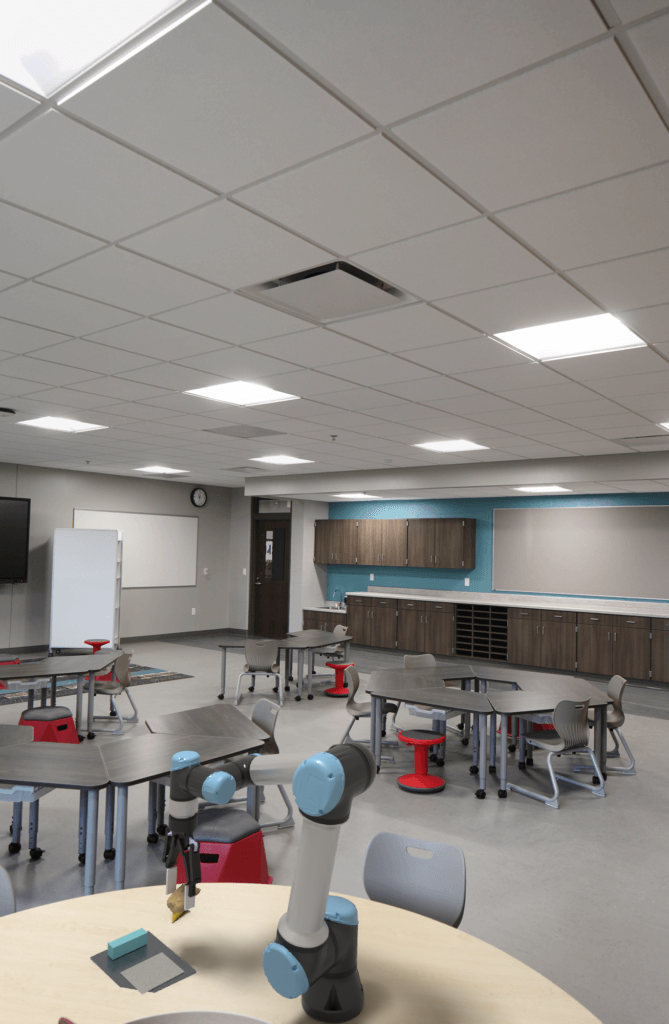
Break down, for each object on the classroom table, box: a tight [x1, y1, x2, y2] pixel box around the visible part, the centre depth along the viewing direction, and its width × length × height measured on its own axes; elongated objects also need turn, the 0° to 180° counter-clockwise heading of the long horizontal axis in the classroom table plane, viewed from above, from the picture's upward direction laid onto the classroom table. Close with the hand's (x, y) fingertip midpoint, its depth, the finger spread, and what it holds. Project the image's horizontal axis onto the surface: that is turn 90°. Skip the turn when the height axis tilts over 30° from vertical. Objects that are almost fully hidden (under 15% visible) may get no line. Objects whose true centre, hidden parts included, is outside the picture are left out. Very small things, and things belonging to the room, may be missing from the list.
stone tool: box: [166, 883, 202, 914], centre depth 173 cm, size 9×7×10 cm
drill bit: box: [171, 910, 186, 924], centre depth 194 cm, size 5×5×10 cm
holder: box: [90, 930, 197, 995], centre depth 169 cm, size 24×17×1 cm
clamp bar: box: [107, 927, 148, 960], centre depth 175 cm, size 3×10×3 cm, turn 135°
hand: (179, 900), depth 171 cm, fingers closed on stone tool, 9 cm apart
